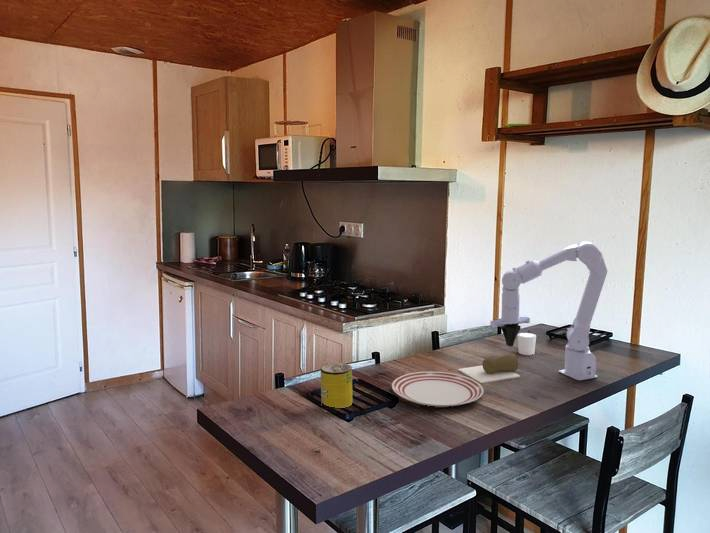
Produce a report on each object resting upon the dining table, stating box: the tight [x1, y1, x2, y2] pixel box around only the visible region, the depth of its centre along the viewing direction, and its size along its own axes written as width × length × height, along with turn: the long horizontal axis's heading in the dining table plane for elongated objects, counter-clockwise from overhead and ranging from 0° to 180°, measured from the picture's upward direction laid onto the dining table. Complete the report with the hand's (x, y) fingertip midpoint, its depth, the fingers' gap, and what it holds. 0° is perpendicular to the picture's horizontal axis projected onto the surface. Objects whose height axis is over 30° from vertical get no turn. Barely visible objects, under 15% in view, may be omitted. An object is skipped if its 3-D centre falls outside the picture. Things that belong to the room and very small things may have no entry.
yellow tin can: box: [320, 362, 354, 408], centre depth 158 cm, size 9×9×12 cm
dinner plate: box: [391, 371, 484, 408], centre depth 166 cm, size 28×27×3 cm
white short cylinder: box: [516, 332, 537, 356], centre depth 206 cm, size 7×7×7 cm
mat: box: [457, 364, 521, 385], centre depth 184 cm, size 14×15×1 cm
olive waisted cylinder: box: [482, 353, 519, 374], centre depth 185 cm, size 6×6×11 cm
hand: (509, 345), depth 187 cm, fingers closed
